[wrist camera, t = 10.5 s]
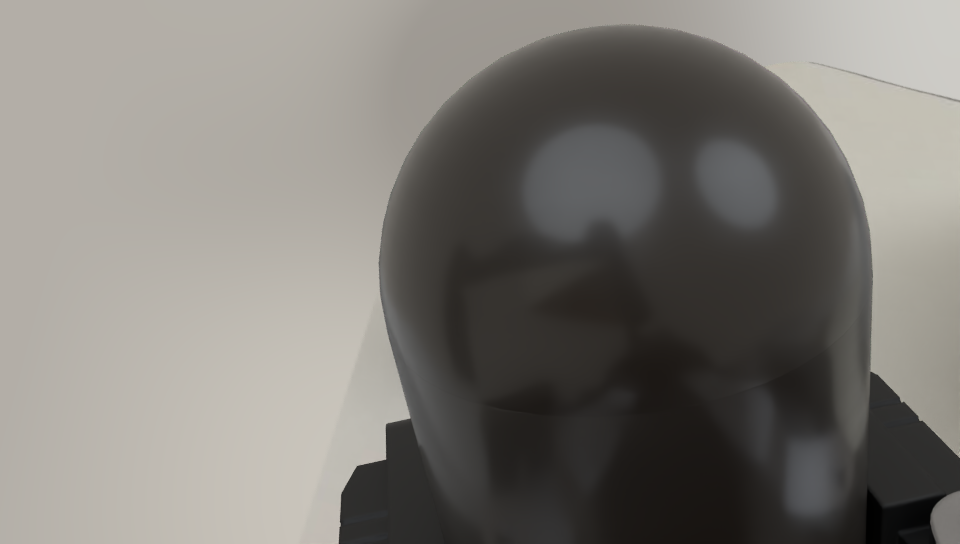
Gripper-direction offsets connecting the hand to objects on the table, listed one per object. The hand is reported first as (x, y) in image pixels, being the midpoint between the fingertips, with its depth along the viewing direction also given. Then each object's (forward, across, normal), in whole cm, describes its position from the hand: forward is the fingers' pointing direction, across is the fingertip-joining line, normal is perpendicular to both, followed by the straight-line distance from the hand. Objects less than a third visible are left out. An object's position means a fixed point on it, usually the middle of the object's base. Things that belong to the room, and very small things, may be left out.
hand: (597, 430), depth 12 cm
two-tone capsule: (-3, 0, +7) cm, 7 cm away
